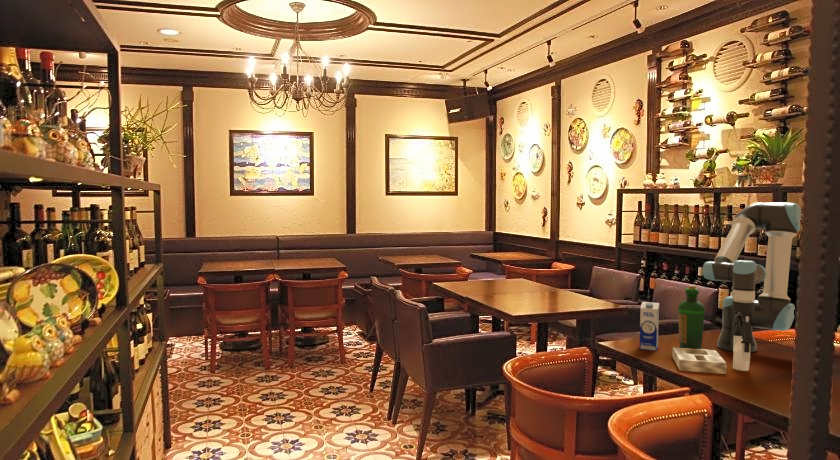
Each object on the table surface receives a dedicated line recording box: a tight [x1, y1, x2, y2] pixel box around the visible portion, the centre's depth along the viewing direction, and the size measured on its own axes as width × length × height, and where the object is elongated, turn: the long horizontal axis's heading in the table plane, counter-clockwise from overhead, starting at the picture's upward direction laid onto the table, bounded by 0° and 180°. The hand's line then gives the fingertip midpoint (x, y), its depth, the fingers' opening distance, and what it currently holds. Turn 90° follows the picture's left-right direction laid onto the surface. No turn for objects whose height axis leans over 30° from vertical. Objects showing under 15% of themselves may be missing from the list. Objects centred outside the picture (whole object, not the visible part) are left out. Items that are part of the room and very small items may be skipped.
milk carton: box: [639, 301, 660, 352], centre depth 258 cm, size 7×7×20 cm
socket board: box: [671, 347, 728, 375], centre depth 232 cm, size 16×21×4 cm
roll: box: [732, 339, 751, 372], centre depth 227 cm, size 6×12×6 cm
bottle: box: [677, 284, 706, 349], centre depth 255 cm, size 11×11×28 cm
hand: (741, 356), depth 226 cm, fingers open, 13 cm apart
